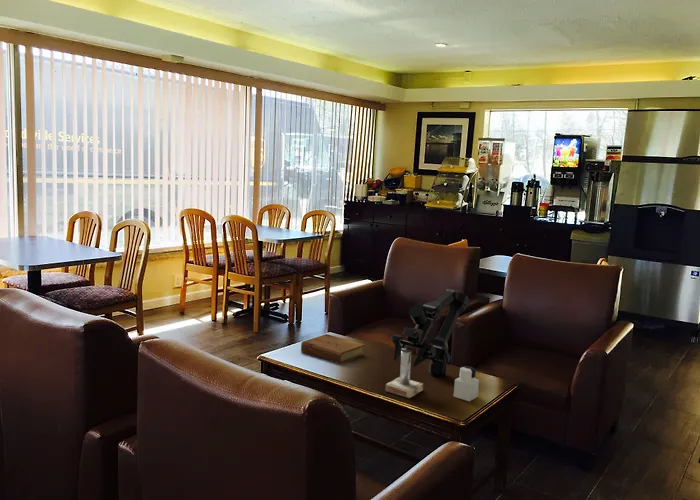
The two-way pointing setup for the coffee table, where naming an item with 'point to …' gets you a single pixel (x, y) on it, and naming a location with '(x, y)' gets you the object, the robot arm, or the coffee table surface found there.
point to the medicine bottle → (466, 384)
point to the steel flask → (405, 365)
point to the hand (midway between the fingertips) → (404, 363)
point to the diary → (332, 348)
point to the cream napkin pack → (404, 388)
